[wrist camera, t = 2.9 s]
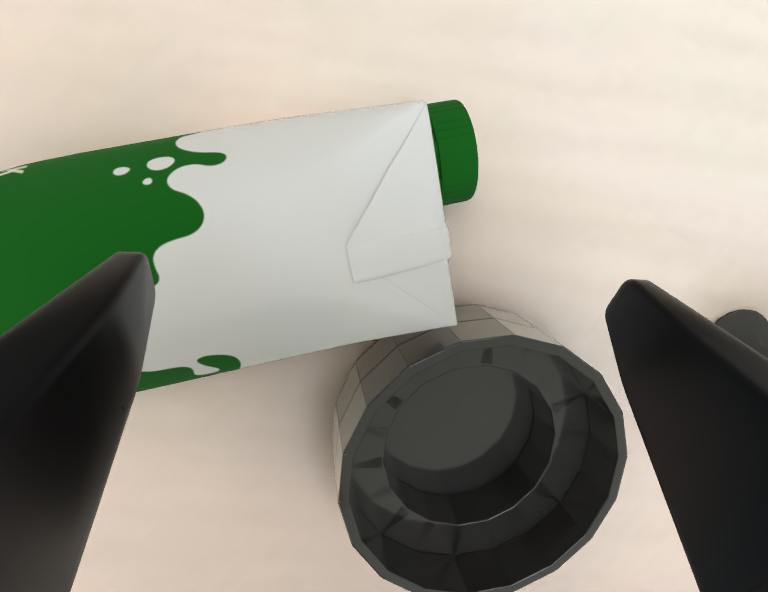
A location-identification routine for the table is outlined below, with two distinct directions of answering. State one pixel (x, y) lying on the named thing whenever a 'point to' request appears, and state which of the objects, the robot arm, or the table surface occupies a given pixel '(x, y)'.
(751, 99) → the table surface
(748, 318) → the sundae
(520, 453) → the bowl
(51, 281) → the milk carton
